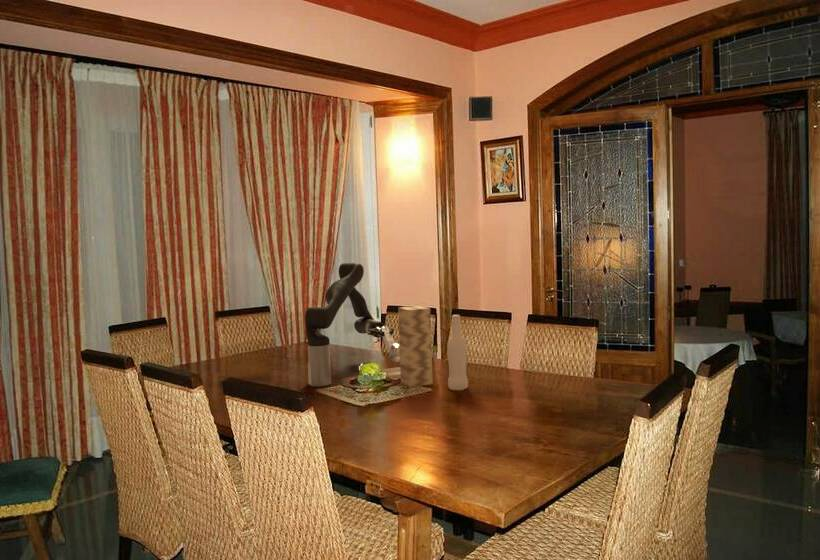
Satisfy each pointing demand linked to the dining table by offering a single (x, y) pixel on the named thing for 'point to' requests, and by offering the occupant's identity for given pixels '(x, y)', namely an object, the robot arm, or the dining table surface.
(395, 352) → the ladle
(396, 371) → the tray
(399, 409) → the dining table surface
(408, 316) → the brown wavy-grained wooden cylinder
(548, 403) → the dining table surface
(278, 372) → the dining table surface
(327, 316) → the robot arm
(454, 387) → the bottle
